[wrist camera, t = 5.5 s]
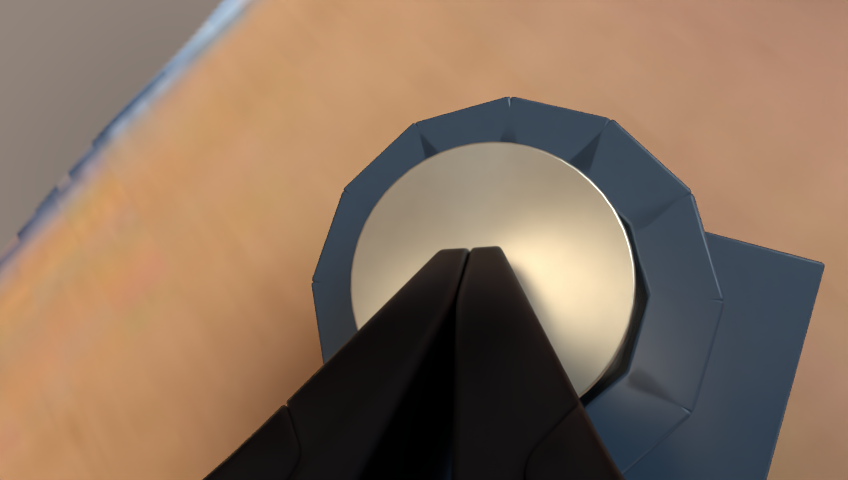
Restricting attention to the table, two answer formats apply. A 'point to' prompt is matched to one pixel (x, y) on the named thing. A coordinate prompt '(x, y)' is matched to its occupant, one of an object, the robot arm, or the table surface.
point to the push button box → (654, 300)
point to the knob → (510, 243)
